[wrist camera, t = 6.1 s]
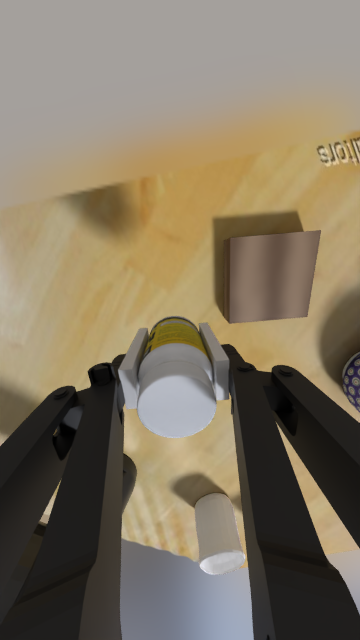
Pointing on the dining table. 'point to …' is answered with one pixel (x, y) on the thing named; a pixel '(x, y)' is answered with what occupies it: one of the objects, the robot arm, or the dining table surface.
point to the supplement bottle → (175, 380)
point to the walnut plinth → (269, 276)
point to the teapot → (352, 380)
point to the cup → (218, 535)
